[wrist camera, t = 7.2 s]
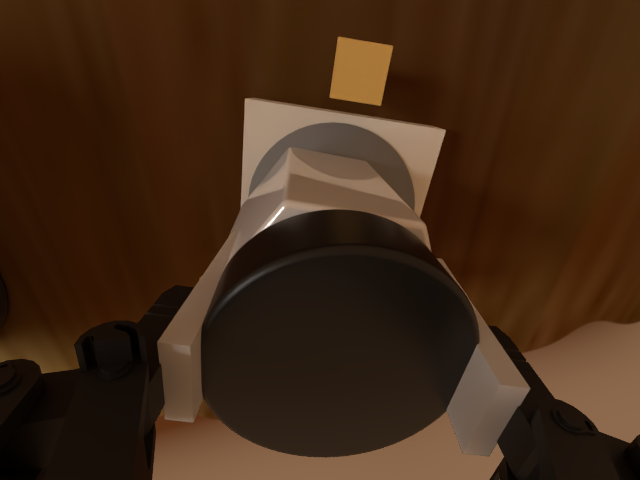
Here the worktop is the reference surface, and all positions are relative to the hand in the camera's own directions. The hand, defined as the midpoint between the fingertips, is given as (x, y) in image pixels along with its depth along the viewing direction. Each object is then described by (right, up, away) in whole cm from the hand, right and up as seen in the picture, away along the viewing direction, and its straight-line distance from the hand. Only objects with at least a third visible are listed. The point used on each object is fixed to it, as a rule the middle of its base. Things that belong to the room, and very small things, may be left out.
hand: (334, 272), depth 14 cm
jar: (-1, +3, +6) cm, 7 cm away
